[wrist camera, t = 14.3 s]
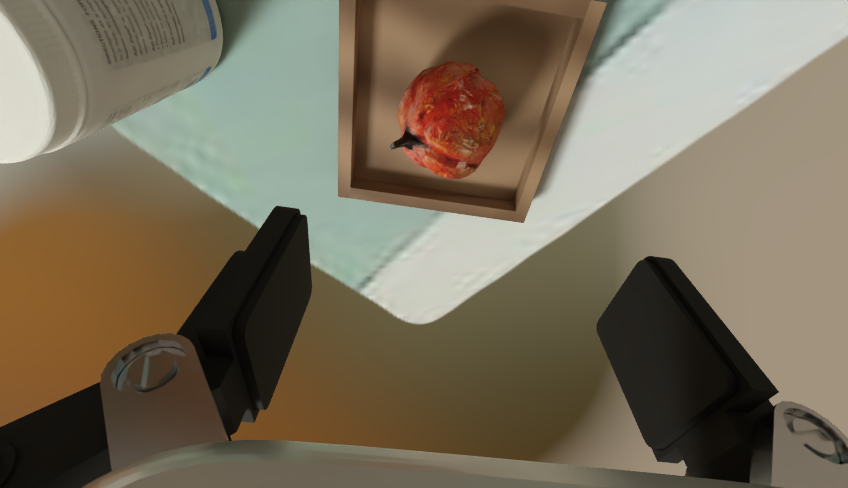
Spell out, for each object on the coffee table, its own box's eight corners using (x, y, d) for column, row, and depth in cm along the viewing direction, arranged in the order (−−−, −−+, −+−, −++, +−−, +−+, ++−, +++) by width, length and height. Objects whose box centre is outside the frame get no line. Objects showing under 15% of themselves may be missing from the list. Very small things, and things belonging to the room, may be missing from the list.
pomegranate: (481, 40, 26) (360, 52, 22) (560, 73, 22) (432, 96, 18) (464, 134, 31) (363, 161, 27) (526, 175, 27) (419, 215, 23)
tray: (348, -46, 22) (339, -48, 20) (592, 0, 24) (607, 2, 21) (344, 182, 32) (338, 196, 30) (518, 207, 33) (523, 222, 31)
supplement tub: (69, -119, 21) (-408, -243, 9) (237, -35, 23) (28, -46, 11) (87, 51, 26) (-197, 112, 14) (222, 107, 28) (70, 199, 17)
